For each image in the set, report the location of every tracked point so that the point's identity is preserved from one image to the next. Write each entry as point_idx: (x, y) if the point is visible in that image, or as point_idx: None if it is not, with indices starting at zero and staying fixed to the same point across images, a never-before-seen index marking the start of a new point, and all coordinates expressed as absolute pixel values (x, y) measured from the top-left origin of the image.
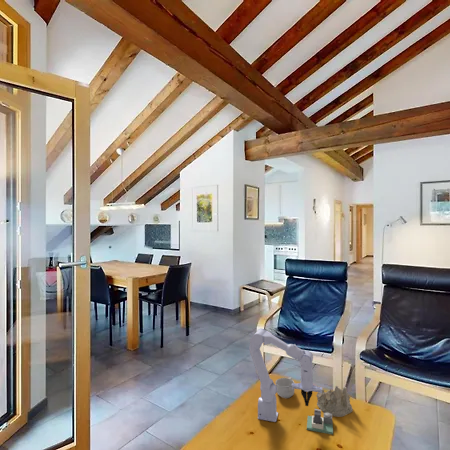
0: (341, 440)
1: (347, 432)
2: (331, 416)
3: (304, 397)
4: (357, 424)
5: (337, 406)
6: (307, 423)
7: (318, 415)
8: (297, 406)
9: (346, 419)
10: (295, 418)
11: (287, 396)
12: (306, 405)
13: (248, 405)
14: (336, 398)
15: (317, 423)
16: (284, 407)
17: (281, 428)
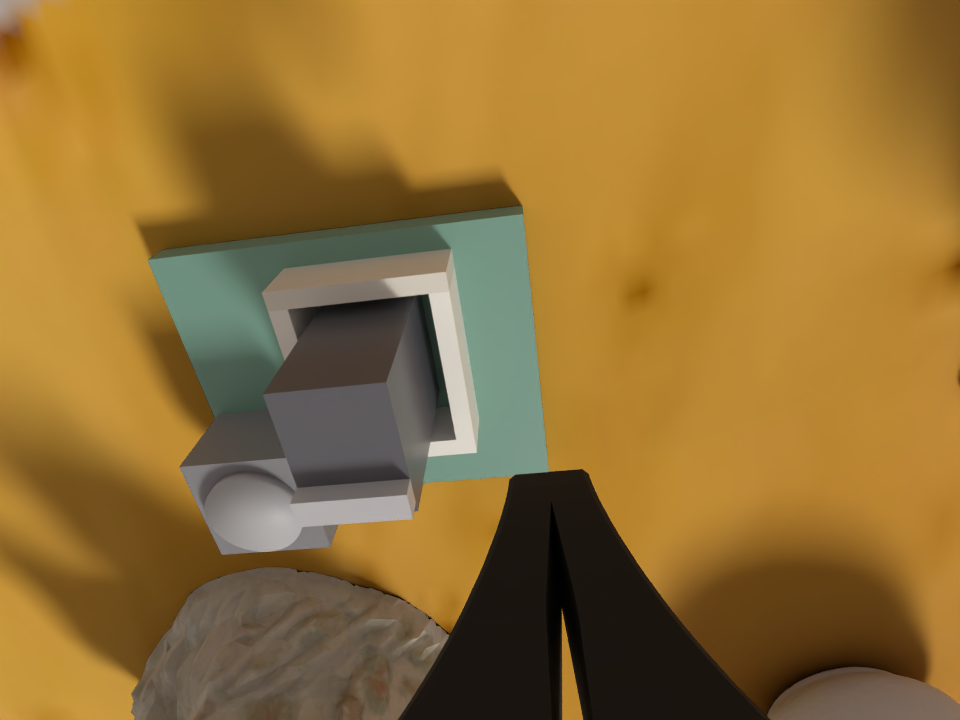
0: (18, 171)
1: (35, 363)
2: (204, 503)
3: (670, 681)
4: (16, 525)
5: (200, 683)
6: (527, 314)
7: (307, 385)
8: (691, 591)
9: (143, 560)
10: (706, 385)
11: (834, 691)
12: (557, 476)
13: None
14: None
15: (363, 313)
16: (857, 533)
17: (943, 56)
